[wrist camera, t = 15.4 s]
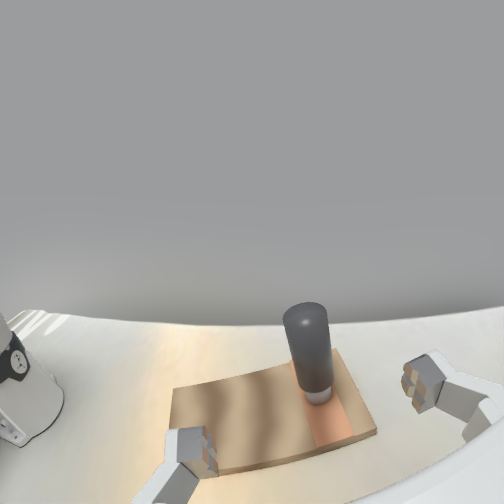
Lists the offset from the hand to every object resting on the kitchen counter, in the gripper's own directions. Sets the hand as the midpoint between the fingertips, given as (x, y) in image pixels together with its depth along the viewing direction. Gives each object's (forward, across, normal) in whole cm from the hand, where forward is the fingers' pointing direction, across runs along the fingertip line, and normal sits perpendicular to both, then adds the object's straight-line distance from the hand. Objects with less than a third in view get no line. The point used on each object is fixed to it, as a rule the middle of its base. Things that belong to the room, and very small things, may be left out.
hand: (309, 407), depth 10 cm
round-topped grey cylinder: (+14, +3, -19) cm, 24 cm away
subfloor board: (+14, -4, -21) cm, 25 cm away
